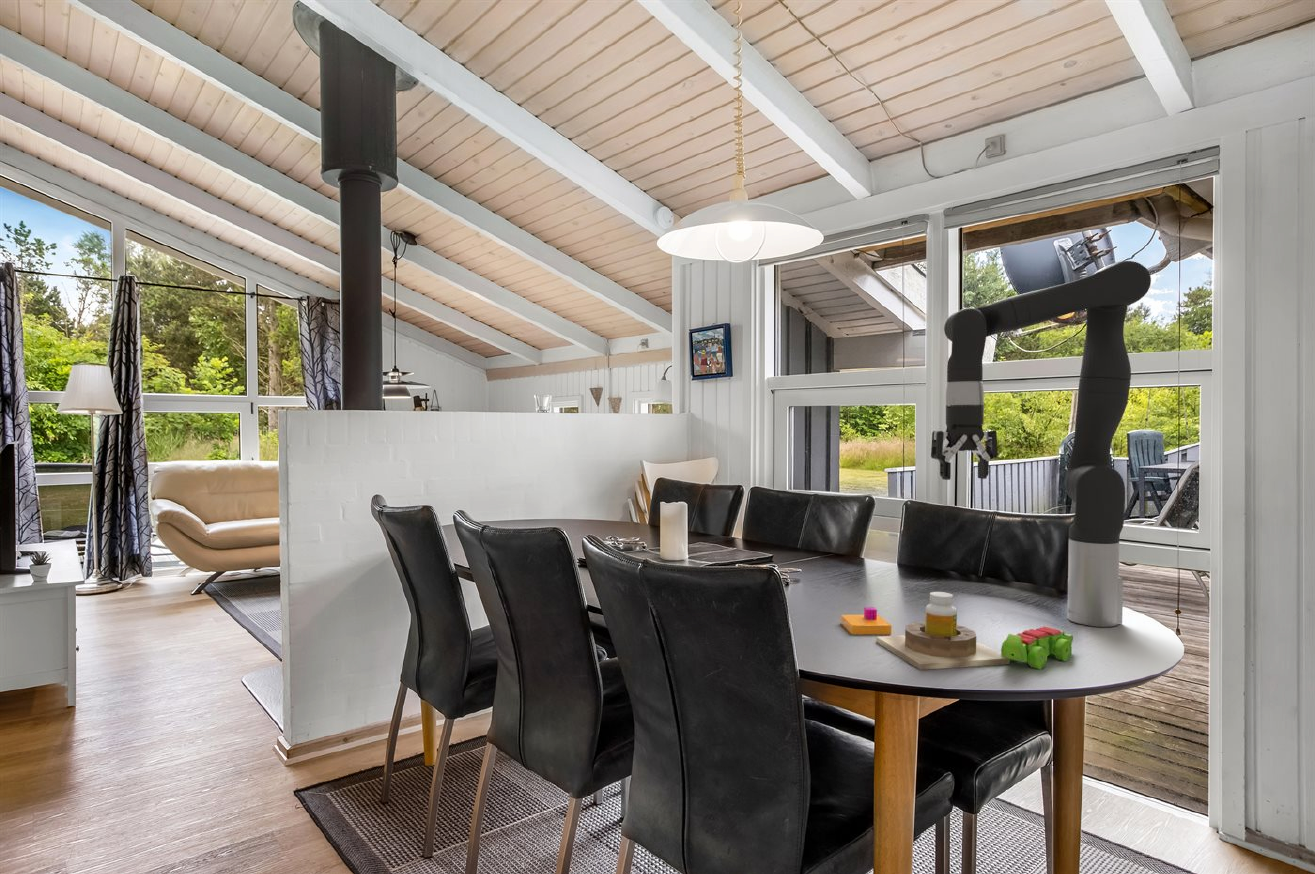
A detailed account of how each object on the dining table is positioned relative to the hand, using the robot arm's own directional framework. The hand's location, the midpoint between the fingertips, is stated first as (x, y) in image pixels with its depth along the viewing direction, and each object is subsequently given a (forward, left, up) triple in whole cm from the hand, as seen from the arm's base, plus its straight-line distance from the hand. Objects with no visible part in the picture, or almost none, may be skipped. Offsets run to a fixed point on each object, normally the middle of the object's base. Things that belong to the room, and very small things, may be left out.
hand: (964, 479), depth 159 cm
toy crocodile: (+3, +28, -30) cm, 41 cm away
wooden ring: (+18, +21, -29) cm, 40 cm away
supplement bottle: (+18, +21, -29) cm, 40 cm away
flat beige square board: (+18, +21, -30) cm, 41 cm away
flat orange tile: (+24, +4, -31) cm, 39 cm away
